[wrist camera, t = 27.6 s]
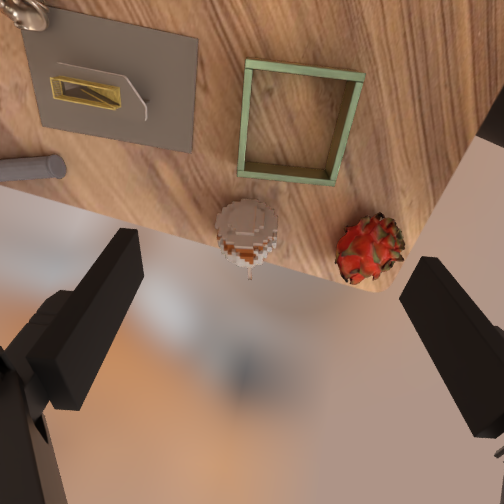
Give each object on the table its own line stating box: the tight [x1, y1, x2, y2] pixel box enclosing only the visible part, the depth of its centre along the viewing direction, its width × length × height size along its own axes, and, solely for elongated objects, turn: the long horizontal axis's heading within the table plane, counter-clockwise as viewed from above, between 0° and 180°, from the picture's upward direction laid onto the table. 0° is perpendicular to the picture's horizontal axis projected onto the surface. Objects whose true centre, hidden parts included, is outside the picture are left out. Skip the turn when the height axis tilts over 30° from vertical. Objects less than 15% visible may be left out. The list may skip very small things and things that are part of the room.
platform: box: [20, 0, 198, 154], centre depth 31 cm, size 12×18×7 cm, turn 80°
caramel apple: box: [215, 199, 278, 280], centre depth 43 cm, size 8×8×15 cm
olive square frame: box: [237, 57, 366, 187], centre depth 34 cm, size 12×12×4 cm
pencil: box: [0, 154, 66, 182], centre depth 38 cm, size 11×3×3 cm, turn 95°
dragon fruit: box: [335, 212, 405, 285], centre depth 42 cm, size 8×8×12 cm
